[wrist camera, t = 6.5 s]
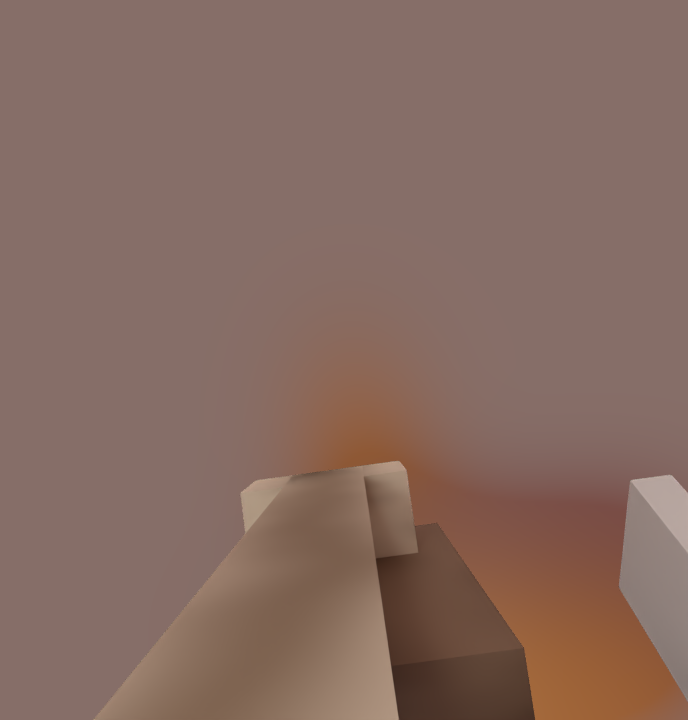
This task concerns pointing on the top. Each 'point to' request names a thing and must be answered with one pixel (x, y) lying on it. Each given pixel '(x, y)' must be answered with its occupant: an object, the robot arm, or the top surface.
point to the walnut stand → (448, 639)
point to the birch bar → (287, 610)
